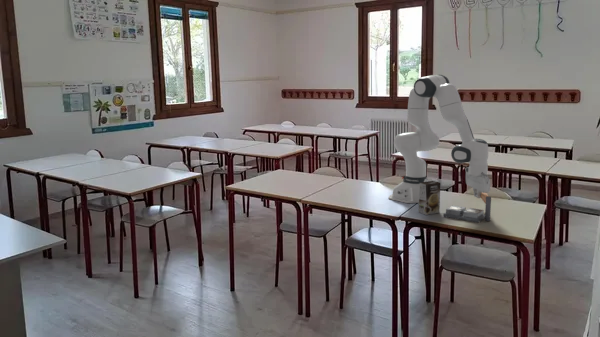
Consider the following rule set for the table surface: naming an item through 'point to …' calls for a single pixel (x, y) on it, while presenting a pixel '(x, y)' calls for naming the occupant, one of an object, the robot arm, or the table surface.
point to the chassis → (464, 213)
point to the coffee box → (429, 197)
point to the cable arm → (488, 205)
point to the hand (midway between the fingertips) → (477, 197)
